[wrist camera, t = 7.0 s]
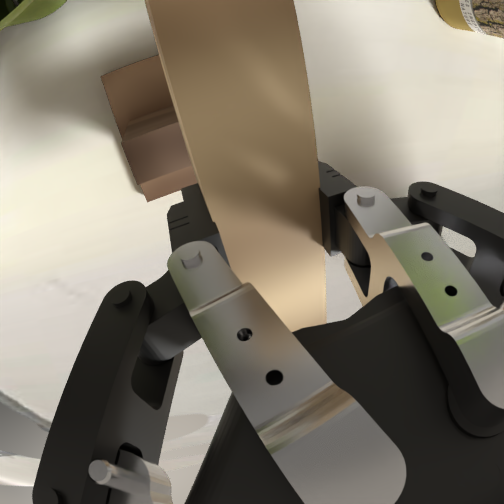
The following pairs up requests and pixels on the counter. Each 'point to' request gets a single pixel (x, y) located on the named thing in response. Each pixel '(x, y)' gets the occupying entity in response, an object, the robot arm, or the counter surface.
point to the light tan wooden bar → (250, 141)
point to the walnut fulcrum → (149, 128)
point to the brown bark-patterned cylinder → (474, 15)
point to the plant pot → (26, 11)
